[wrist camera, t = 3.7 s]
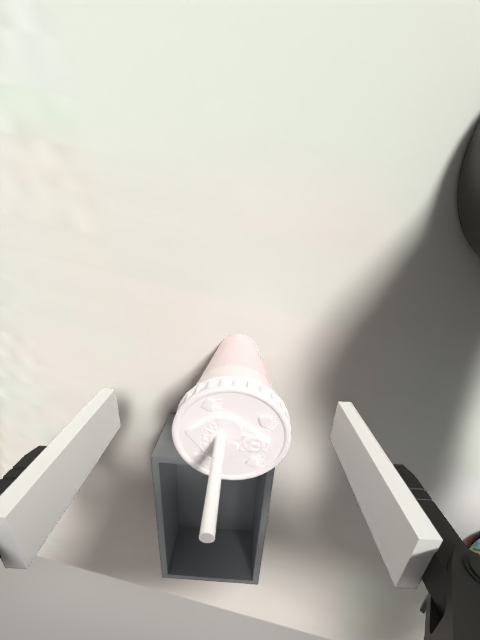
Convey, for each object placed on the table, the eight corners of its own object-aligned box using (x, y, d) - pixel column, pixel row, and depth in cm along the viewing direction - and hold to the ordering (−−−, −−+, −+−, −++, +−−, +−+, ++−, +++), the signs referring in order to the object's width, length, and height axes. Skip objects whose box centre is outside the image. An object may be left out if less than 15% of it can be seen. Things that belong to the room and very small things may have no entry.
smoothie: (208, 313, 20) (134, 456, 7) (281, 327, 20) (344, 492, 7) (199, 376, 22) (127, 578, 9) (264, 388, 22) (289, 602, 9)
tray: (170, 413, 24) (150, 456, 19) (269, 420, 24) (275, 465, 19) (175, 523, 29) (162, 577, 25) (256, 528, 29) (257, 584, 24)
